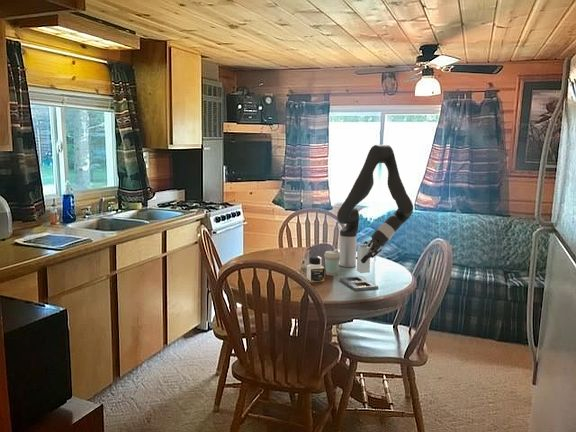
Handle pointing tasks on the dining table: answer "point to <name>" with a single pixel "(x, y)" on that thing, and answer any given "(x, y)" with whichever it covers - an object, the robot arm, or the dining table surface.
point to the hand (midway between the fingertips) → (359, 260)
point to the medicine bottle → (315, 269)
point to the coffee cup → (332, 262)
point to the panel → (358, 283)
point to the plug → (361, 253)
